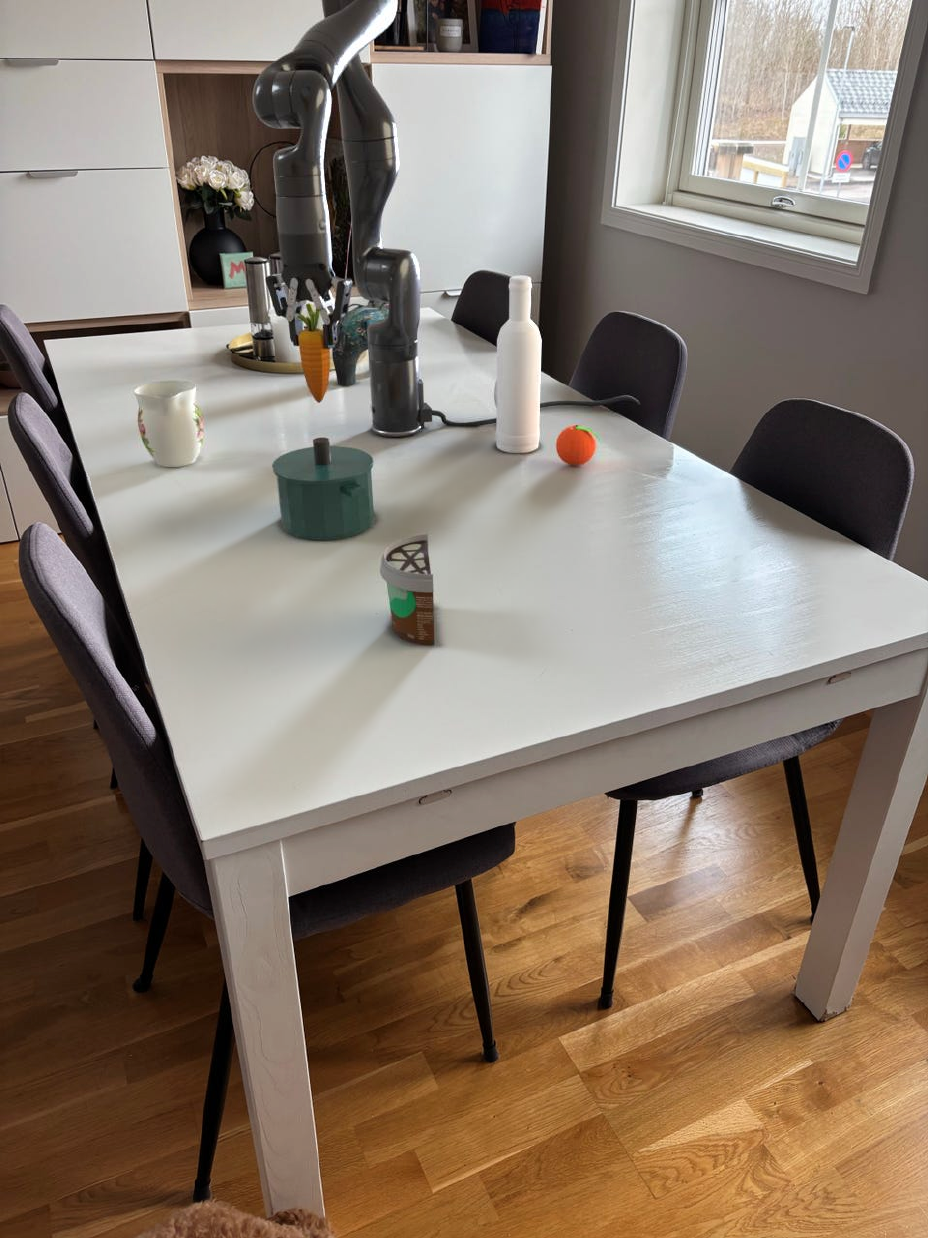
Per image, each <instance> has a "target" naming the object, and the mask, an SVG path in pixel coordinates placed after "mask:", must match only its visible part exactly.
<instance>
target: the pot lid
mask: <svg viewBox="0 0 928 1238" xmlns="http://www.w3.org/2000/svg"><path fill="white" fill-rule="evenodd" d="M373 467H374V459H373V457H372V455H371V454H369V453H368V452H366V451H365V450H362V449H359V448H355V447H350V446H344V445H343V446H342V445H330V439H329V438H328V437H317V438H314V439H312V446H309V447H303V448H298V449H296V450H292V451H289V452H286V453H284V454H282V455H280V456H278V457H277V458H276V459H275V460H274V461H273V463H272V468H271V469H272V472H273V474H274V475H275V477H276V476H277V477H279V478H281V479H283V480H285V481H289V482H293V483H298V484H309V485H321V484H333V483H340V482H345V481H349V480H352V479H355V478H358V477H361V476H363V475H365V474H366V473H368V472H369V471H370V470H371V471H372V469H373Z"/></svg>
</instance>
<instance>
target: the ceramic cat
mask: <svg viewBox="0 0 928 1238" xmlns="http://www.w3.org/2000/svg"><path fill="white" fill-rule="evenodd" d="M355 306H356V307H355ZM351 307H353V308H352V309H351V310H348V316H347V317H346V318H344V319H341V320H339V321H337V324H336V325H337V338H338V341H337V344H335V347H334V348H331V356H332V357H331V358H332V362H333V366H334V371H335V376H336V381H337V385H339V386H345V387H348V386H352V385H354V384H355V383H356V371H357V364H358V362H359V359H360V357H361V356H362V354H363V353H364V352H366V351H368V336H367V329H368V326H369V325H370V324H371V323H373V322H376V321H379V320H383V319H385V318H386V317H387V316H388V309H389V303H386V302H377V301H370V300H368V302H367V304H366V305H364V304H359V303H351V304H349V308H351Z"/></svg>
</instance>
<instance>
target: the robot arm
mask: <svg viewBox="0 0 928 1238" xmlns="http://www.w3.org/2000/svg"><path fill="white" fill-rule="evenodd" d="M398 5H399V0H321V6H322V12H323V13H322V14H323V19H321V20H320V21H318V22H316V23H315V24H314V25H312V26H311V27H310V28H309V29H308V30H307V31H306V32H305V33H304V35H303V36H302V37H301V38H300V40H299V41H298V43H296V45H295V47H294V48H293V49H292V51H290V52H288V53H286V54H284V55H282V56H281V57H279V58H278V59H276V60H275V61H273V62H272V63H270V64H269V65H267V66H266V67H265V68H264V69H263V70H262V71H261V72H260V73H259V75H258V77H257V78H256V80H255V83H254V86H253V89H252V105H253V109H254V113H255V114H256V116H257V118H258V119H259V121H260V122H262V123H263V124H264V125H266V126H267V127H270V128H272V129H301V132H300V137H299V140H298V142H297V143H296V144H295V145H293V146H289V147H285V148H281V149H279V150H276V151H275V153H274V155H273V158H272V160H273V161H272V167H273V177H274V187H275V194H276V196H275V199H276V204H275V215H276V226H277V235H278V236H277V237H278V244H279V245H278V246H279V257H280V261H281V263H282V269H281V272H280V273H273V274H269V275H267V276H266V277H265V283H266V286H267V290H268V293H269V296H270V300H271V302H272V306H273V309H274V313H275V315H276V316H277V317H282V318H285V320H286V321H287V322H288V323H287V324H288V330H289V339H290V342H291V343H292V345H293V347H299V340H298V335H299V333H300V332H301V331H302V330H304V322H303V321H302V320H301V319H299V318H297V317H296V315H297V314H301V315H302V311H303V308H304V306H305V305H306V301H308V302H311V303H313V304H314V306H315V310H316V309H317V310H318V311H319V312H320V315H319V316H320V317H321V320H322V322H323V324H322V329H323V337H324V347H325V349H330V350H332V348H334V347H335V344H337V341H338V338H337V323H338V322H339V320H341V319H344V318H346V317H347V316H348V311H349V308H350V307H349V305H350V303H351V295H352V289H353V281H352V279H351V278H350V277H347V278H342V277H339V276H336V273H335V271H334V270H333V267H332V262H333V251H332V240H331V238H332V237H331V225H330V213H329V206H328V201H327V195H326V181H325V169H324V163H325V162H324V161H325V153H326V152H325V149H326V142H327V135H328V131H329V130H328V129H329V124H330V120H331V114H332V104H333V103H332V102H333V98H332V92H331V91H332V90H333V88H334V87H335V86H336V92H337V102H338V109H339V110H338V111H339V119H340V120H339V121H340V130H341V141H342V148H343V157H344V165H345V171H346V179H347V187H348V194H349V195H348V196H349V204H350V205H349V207H350V216H351V218H350V219H351V237H352V238H351V241H352V268H353V279H354V283H355V287H356V289H357V292H358V294H359V295H360V296H361V298H362V299H364V300H367V301H369V300H370V301H377V302H386V303H389V309H388V316H387V317H386V318H385V319H383V320H379V321H376V322H373V323H371V324H370V325H369V326H368V329H367V336H368V350H367V351H368V353H367V354H368V369H369V384H370V402H371V403H370V405H369V406H370V412H371V416H372V417H371V418H372V420H371V422H372V424H371V426H372V427H371V428H372V429H371V430H372V432H373V433H374V434H375V435H378V436H380V437H381V436H382V437H388V438H402V437H408V436H413V435H415V434H418V433H419V432H420V431H421V430H424V429H425V423H431V422H433V416H436V417H439V418H440V420H441V422H442V423H443V424H444V425H446V426H448V427H464V428H465V427H466V428H469V427H470V428H473V427H481V426H487V425H493V424H497V417H495V418H488V419H481V420H475V421H468V422H467V421H466V422H457V421H451V420H449V419H447V417H446V414H445V413H444V412H442V411H439V410H433V408H432V407H431V406H430V405H429V404H428V403H427V402H425V395H424V393H425V392H424V381H423V380H422V379H421V378H420V377H419V376H420V375H419V372H420V371H419V349H418V332H419V331H418V330H419V326H420V321H421V319H420V318H421V269H420V264H419V261H418V259H417V256H416V255H415V254H414V253H413V252H412V251H410V250H407V249H400V248H391V247H390V248H389V247H384V246H383V239H382V219H383V213H384V209H385V207H386V205H387V202H388V200H389V197H390V195H391V192H392V190H393V188H394V186H395V183H396V181H397V179H398V178H397V177H398V174H399V172H400V171H399V170H400V152H399V151H400V150H399V139H398V130H397V129H398V128H397V123H396V121H395V118H394V116H393V113H392V111H391V110H390V108H389V107H388V105H387V103H386V102H385V100H384V99H383V97H382V96H381V94H380V93H379V91H378V90H377V88H376V87H375V85H374V83H373V82H372V80H371V78H370V77H369V75H368V74H367V71H366V70H365V67H364V65H363V63H362V60H361V57H360V56H361V55H360V53H361V52H362V51H363V50H364V49H365V48H366V47H367V46H369V45H370V44H371V43H372V42H373V41H374V40H375V39H377V37H379V36H380V35H381V34H382V33H384V32H385V31H386V30H388V29H389V27H390V26H391V25H392V23H393V22H394V21H395V18H396V16H397V12H398ZM285 285H286V287H287V288H288V290H289V291H288V297H287V293H286V290H285ZM332 286H333V292H334V293H335V297H334V299H333V296H332V293H331V291H330V290H331V288H332ZM624 401H628V402H630V403H633V404H634V405H636V406H640V405H641V402H640V401H639V400H638V399H637V398H635V397H633V396H631V395H619V396H614V397H612V398H608V399H603V400H569V399H568V400H567V399H566V400H564V399H563V400H552V401H545V402H540V409H542V408H548V407H556V406H558V407H559V406H577V407H578V406H579V407H601V406H606V405H611V404H614V403H618V402H624Z"/></svg>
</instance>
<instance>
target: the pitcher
mask: <svg viewBox="0 0 928 1238" xmlns="http://www.w3.org/2000/svg"><path fill="white" fill-rule="evenodd" d="M196 389H197V387H196V384H195V383H193V382H189V381H186V380H160V381H154V382H150V383H149V382H148V383H145V384H142V385H140V386H138V387H136V388H135V389H134V390H133V393H134V396H135V398H136V401H137V404H138V410H137V427H138V432H139V435H140V438H141V440H142V443H143V445H144V447H145V449H146V451H147V452H148V454H149V456H150V457H151V458H152V459H153V460H154V461H155V462H156V463H157V464H158V465H159V466H160V467H164V468H181V467H184V466H189V465H191V464H193V463H194V462H195V461H196V460H197V458H198V456H199V455H200V452H201V450H202V446H203V441H204V422H203V421H204V420H203V415H202V411H201V410H200V407H199V405H198V403H197V401H196Z"/></svg>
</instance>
